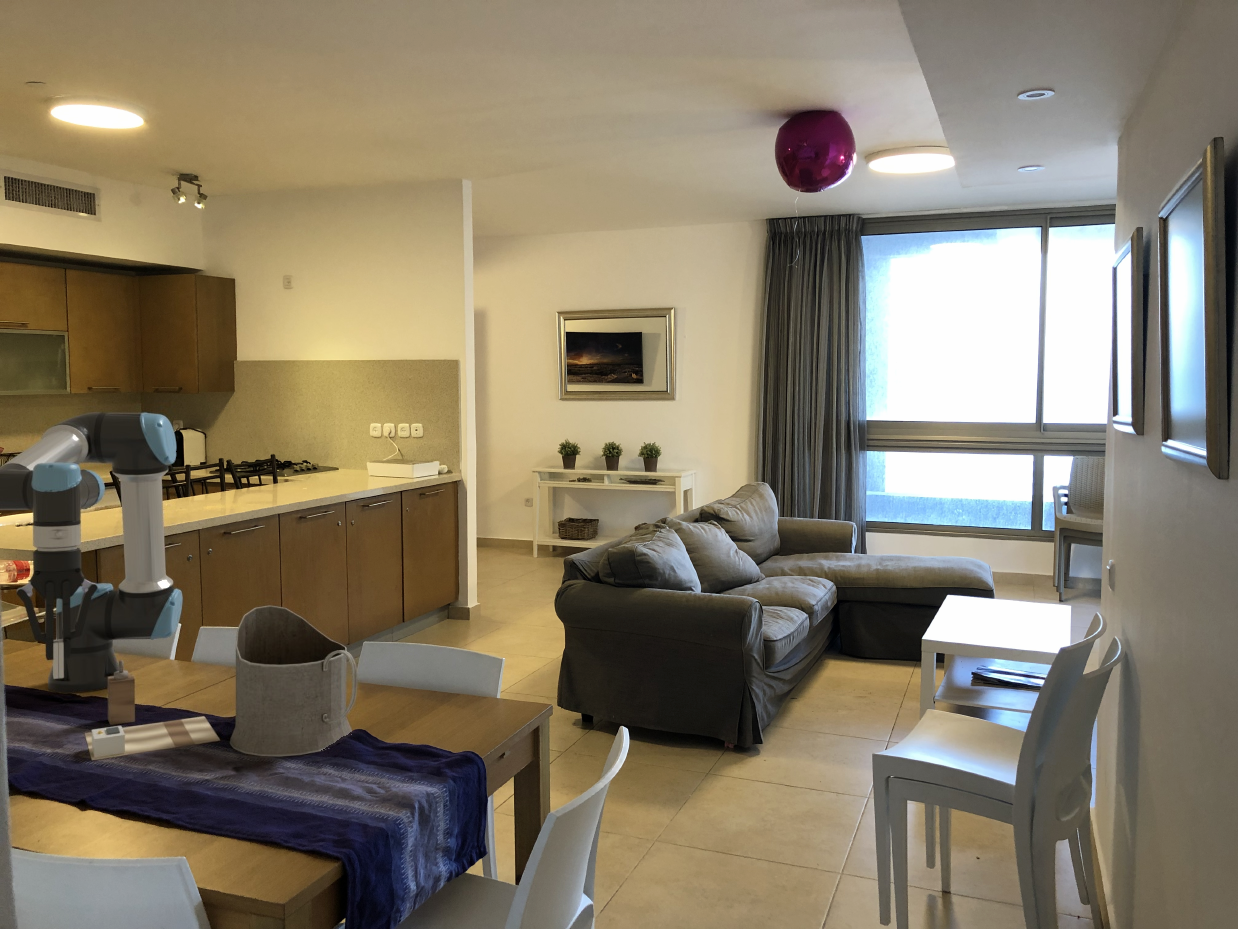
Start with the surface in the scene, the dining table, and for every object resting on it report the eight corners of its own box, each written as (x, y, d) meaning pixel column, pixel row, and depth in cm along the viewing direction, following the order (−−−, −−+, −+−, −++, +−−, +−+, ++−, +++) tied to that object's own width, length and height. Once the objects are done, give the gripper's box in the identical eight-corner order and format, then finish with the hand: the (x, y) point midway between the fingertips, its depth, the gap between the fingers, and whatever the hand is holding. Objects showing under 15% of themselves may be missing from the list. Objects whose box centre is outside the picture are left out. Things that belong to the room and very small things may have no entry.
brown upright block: (108, 724, 199) (107, 659, 199) (132, 721, 202) (132, 657, 201) (110, 730, 196) (109, 664, 195) (134, 727, 198) (134, 662, 197)
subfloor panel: (84, 739, 190) (84, 733, 190) (204, 722, 202) (204, 716, 202) (91, 766, 176) (91, 760, 176) (220, 746, 188) (220, 740, 188)
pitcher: (306, 711, 211) (307, 598, 210) (402, 743, 192) (403, 619, 191) (206, 738, 192) (206, 614, 191) (302, 776, 174) (302, 639, 172)
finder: (91, 748, 182) (91, 727, 182) (121, 743, 185) (121, 723, 185) (94, 757, 177) (94, 736, 177) (124, 753, 180) (124, 732, 180)
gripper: (14, 552, 168) (16, 686, 169) (100, 548, 175) (100, 676, 176) (14, 547, 174) (15, 676, 175) (96, 543, 181) (97, 667, 182)
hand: (58, 676), depth 176 cm, fingers closed
